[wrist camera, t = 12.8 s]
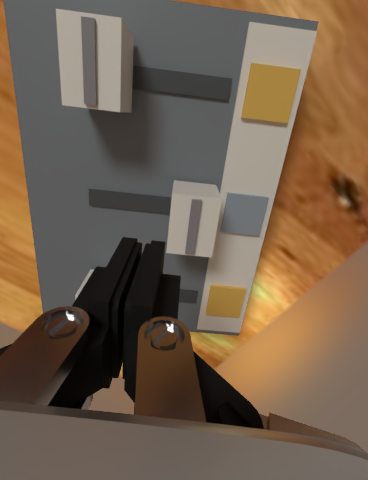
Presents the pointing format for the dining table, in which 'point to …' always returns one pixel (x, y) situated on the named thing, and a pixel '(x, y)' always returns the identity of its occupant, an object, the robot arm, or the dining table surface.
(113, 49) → the slider
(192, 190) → the slider
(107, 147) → the console
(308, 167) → the dining table surface
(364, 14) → the dining table surface
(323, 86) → the dining table surface
